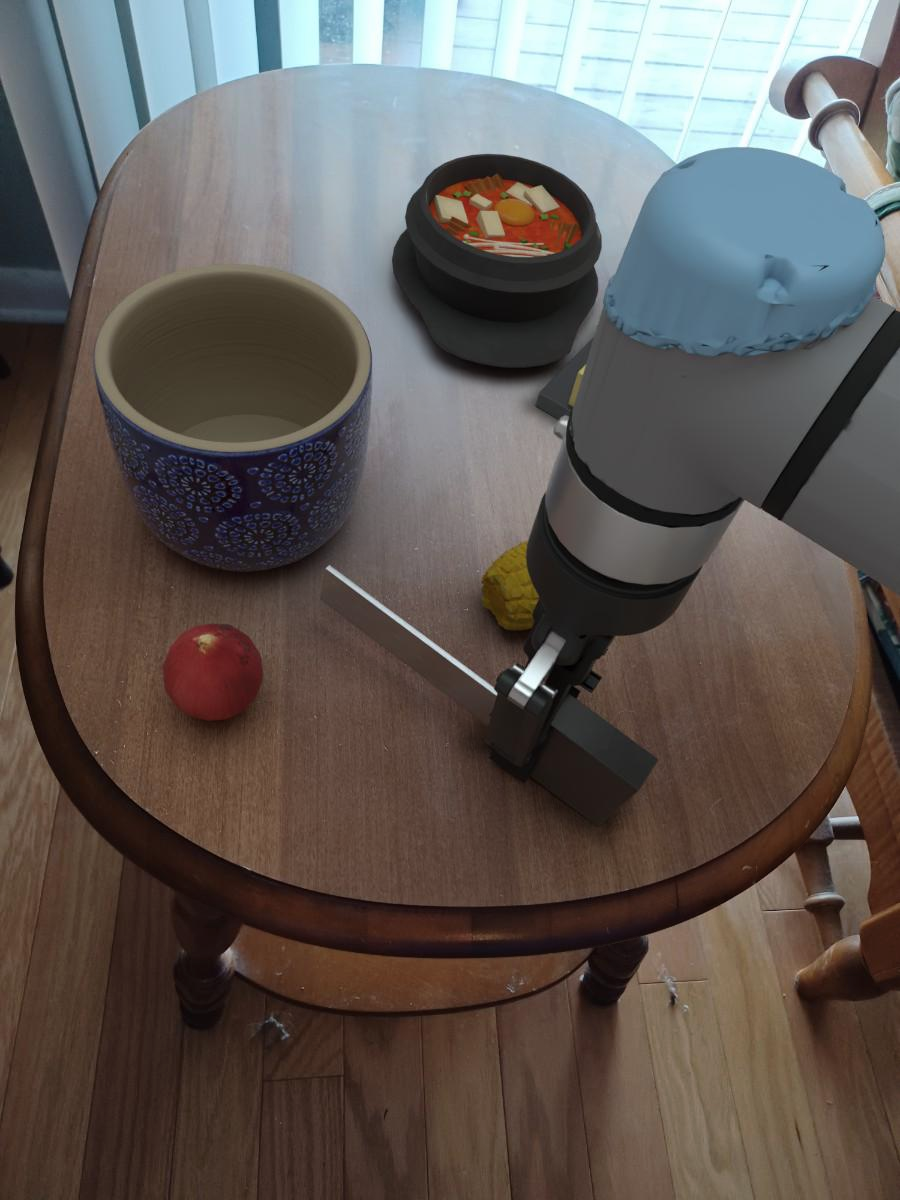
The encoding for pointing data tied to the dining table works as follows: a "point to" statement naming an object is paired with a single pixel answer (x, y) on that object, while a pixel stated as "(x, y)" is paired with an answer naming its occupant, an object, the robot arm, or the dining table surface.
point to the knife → (575, 747)
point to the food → (510, 590)
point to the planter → (237, 411)
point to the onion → (212, 672)
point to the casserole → (500, 259)
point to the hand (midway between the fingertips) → (523, 747)
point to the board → (563, 386)
